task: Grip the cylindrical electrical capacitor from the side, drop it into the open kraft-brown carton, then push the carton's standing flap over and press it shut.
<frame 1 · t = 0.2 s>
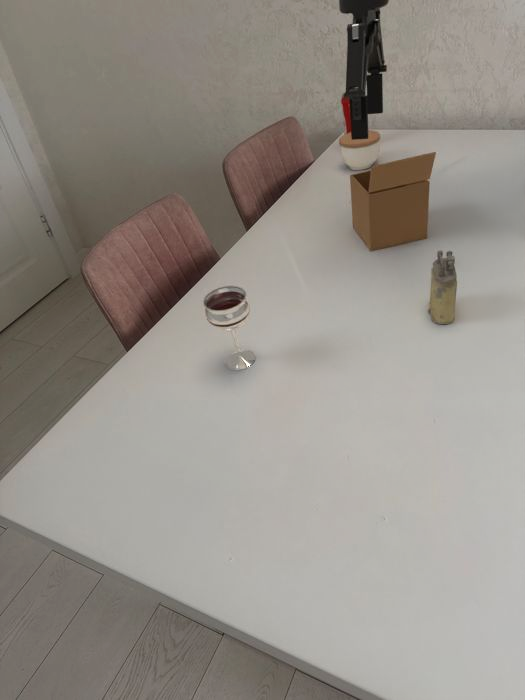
hand: (368, 125, 88), 23 cm above the table, tool pointing down, fingers open, 13 cm apart
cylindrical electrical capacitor: (440, 312, 81), on the table
trinket box: (360, 166, 136), on the table
wineglass: (240, 360, 81), on the table
beverage can: (354, 148, 148), on the table
carton: (388, 232, 105), on the table
carton flap: (401, 172, 90), point 15 cm above the table, hinge at 110.0°
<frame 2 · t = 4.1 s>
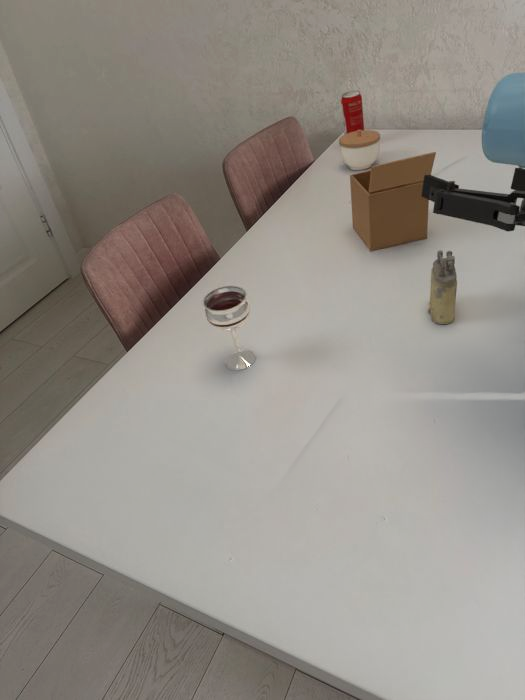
hand: (471, 181, 66), 22 cm above the table, tool horizontal, fingers open, 13 cm apart
nothing on the table moved.
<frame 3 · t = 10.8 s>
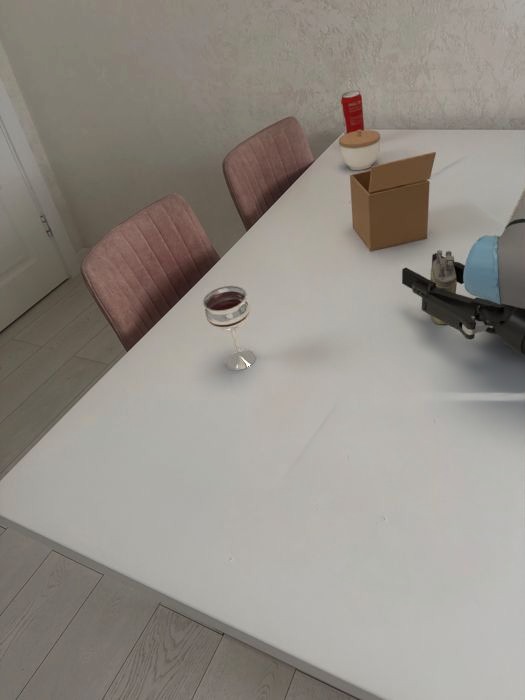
hand: (419, 268, 81), 6 cm above the table, tool horizontal, fingers closed on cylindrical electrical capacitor, 6 cm apart
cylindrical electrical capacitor: (439, 313, 81), on the table, touching gripper
everything else where it was.
when the fingers open (19 cm above the table, at t = 21.4 s): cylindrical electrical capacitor drops 12 cm, resting on carton.
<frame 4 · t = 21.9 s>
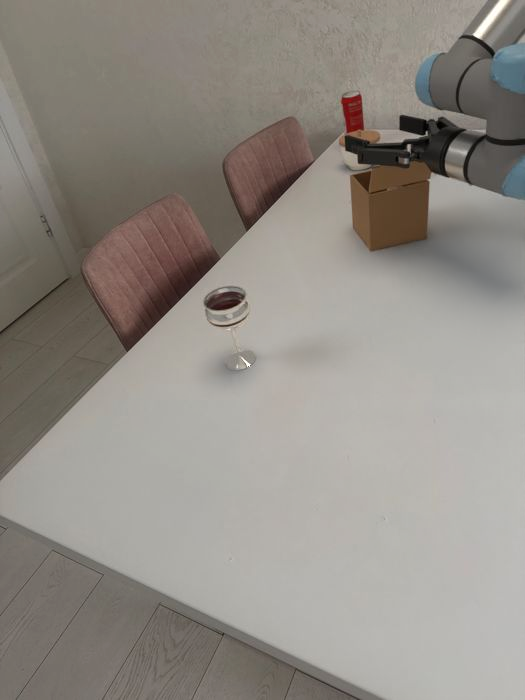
hand: (374, 132, 96), 19 cm above the table, tool horizontal, fingers open, 12 cm apart
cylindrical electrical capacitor: (387, 225, 105), point 1 cm above the table, touching carton
carton flap: (401, 173, 90), point 15 cm above the table, hinge at 113.5°
everything else where it was.
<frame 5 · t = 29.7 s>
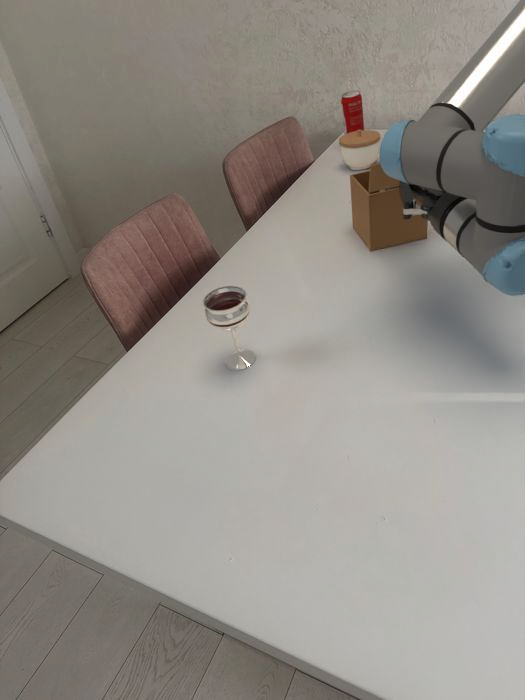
hand: (402, 168, 89), 16 cm above the table, tool horizontal, fingers closed
carton flap: (400, 171, 90), point 15 cm above the table, hinge at 104.9°, touching gripper
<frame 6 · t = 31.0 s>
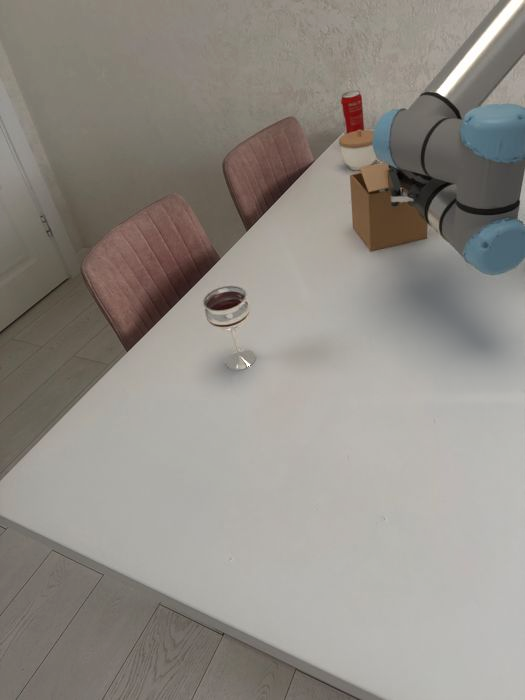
hand: (392, 159, 93), 16 cm above the table, tool horizontal, fingers closed
carton flap: (394, 173, 94), point 14 cm above the table, hinge at 30.9°
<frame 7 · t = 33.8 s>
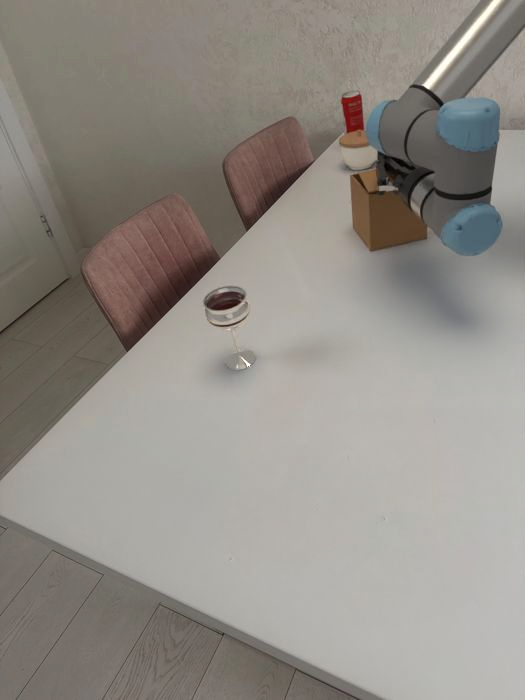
hand: (381, 152, 98), 16 cm above the table, tool horizontal, fingers closed
carton flap: (393, 176, 94), point 13 cm above the table, hinge at 16.4°, touching gripper
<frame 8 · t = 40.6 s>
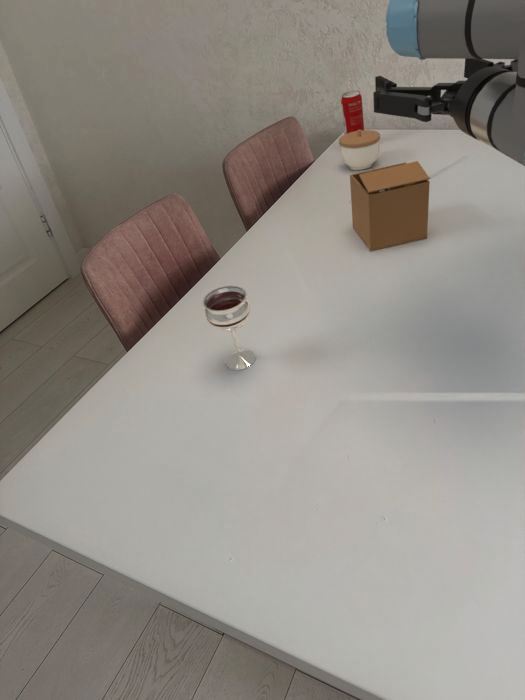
hand: (422, 76, 73), 32 cm above the table, tool horizontal, fingers open, 13 cm apart
carton flap: (393, 176, 94), point 13 cm above the table, hinge at 14.6°
at the end: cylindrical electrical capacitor inside the target area in the carton (0.9 cm from its centre), point 0.2 cm above the carton's base; carton flap at +15° (first picture: +110°); the gripper is holding nothing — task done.
